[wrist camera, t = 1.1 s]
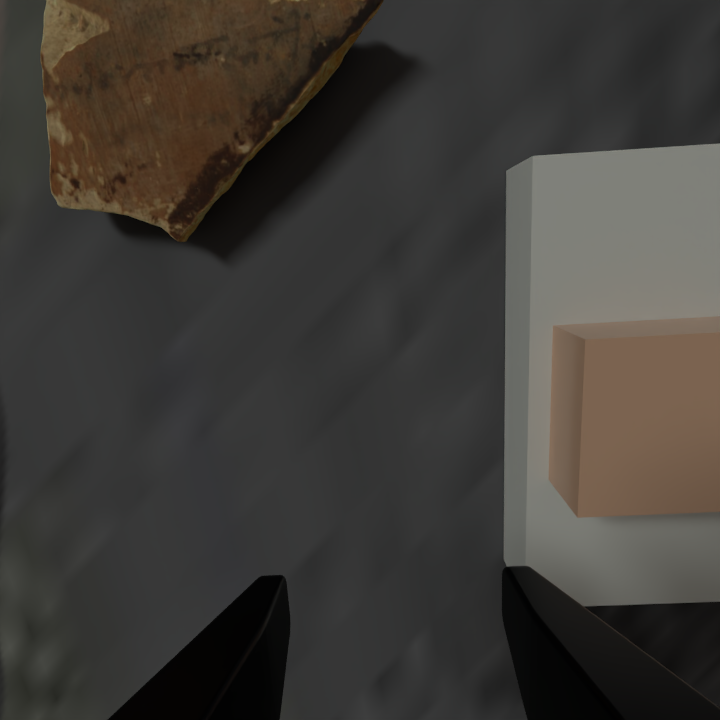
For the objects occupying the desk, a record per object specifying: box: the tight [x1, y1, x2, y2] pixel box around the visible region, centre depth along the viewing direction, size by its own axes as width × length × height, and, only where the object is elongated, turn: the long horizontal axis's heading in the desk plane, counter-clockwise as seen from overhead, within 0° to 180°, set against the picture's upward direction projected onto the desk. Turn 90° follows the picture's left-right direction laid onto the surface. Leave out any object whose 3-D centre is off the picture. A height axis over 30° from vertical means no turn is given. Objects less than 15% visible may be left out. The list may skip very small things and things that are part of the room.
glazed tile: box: [548, 316, 720, 518], centre depth 15 cm, size 6×6×2 cm
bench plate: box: [504, 144, 720, 606], centre depth 18 cm, size 16×10×3 cm, turn 3°
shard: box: [41, 0, 383, 242], centre depth 17 cm, size 11×8×2 cm
